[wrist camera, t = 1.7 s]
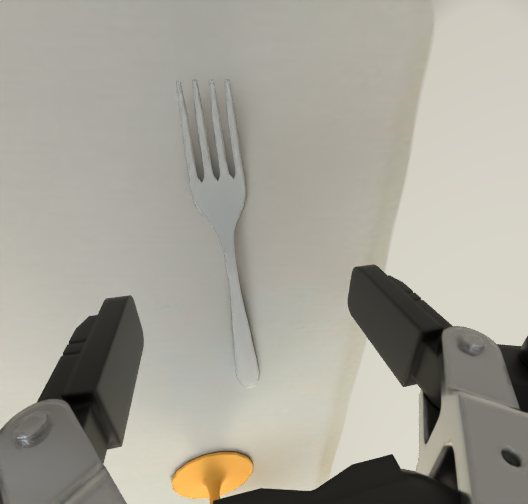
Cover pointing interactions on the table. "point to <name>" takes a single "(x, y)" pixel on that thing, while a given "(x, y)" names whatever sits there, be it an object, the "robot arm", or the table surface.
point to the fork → (222, 212)
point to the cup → (212, 475)
